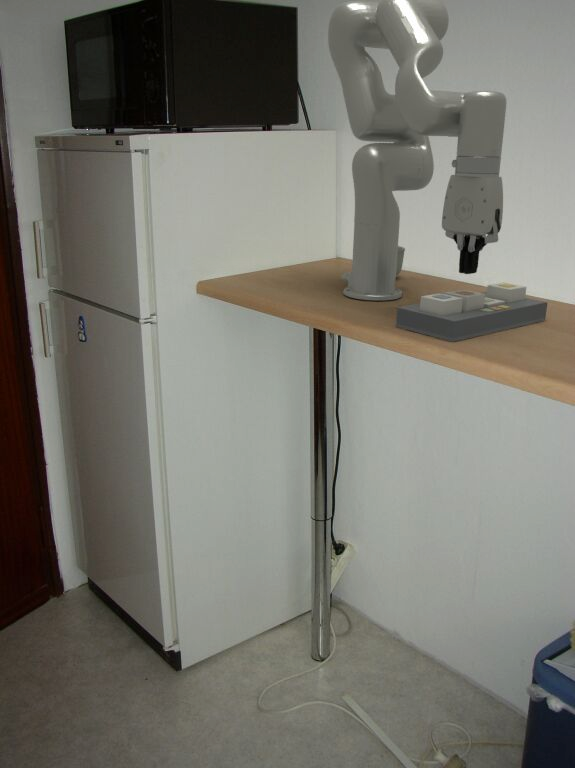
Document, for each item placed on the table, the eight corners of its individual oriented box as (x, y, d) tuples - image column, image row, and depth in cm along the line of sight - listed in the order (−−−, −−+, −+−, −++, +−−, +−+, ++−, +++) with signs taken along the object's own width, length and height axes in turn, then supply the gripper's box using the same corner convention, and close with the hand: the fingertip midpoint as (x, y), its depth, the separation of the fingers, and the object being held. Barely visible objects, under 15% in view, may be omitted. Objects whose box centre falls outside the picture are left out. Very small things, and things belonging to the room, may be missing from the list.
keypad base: (395, 326, 139) (397, 306, 138) (489, 308, 156) (491, 289, 155) (452, 342, 130) (454, 320, 129) (545, 320, 147) (547, 301, 146)
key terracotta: (442, 308, 140) (444, 291, 139) (460, 305, 144) (462, 288, 143) (465, 313, 137) (467, 296, 136) (483, 310, 140) (485, 293, 139)
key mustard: (486, 300, 148) (487, 284, 147) (502, 297, 152) (503, 281, 151) (508, 305, 145) (510, 288, 144) (524, 302, 148) (526, 286, 147)
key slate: (419, 312, 136) (420, 295, 135) (438, 309, 140) (439, 292, 139) (442, 318, 133) (444, 300, 132) (461, 314, 136) (462, 297, 135)
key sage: (464, 315, 145) (465, 298, 144) (480, 311, 148) (482, 295, 147) (486, 320, 141) (488, 303, 140) (503, 316, 144) (505, 300, 143)
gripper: (429, 166, 135) (422, 269, 141) (501, 169, 125) (489, 281, 130) (456, 165, 140) (448, 265, 146) (527, 169, 129) (515, 277, 135)
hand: (467, 272), depth 138 cm, fingers closed
